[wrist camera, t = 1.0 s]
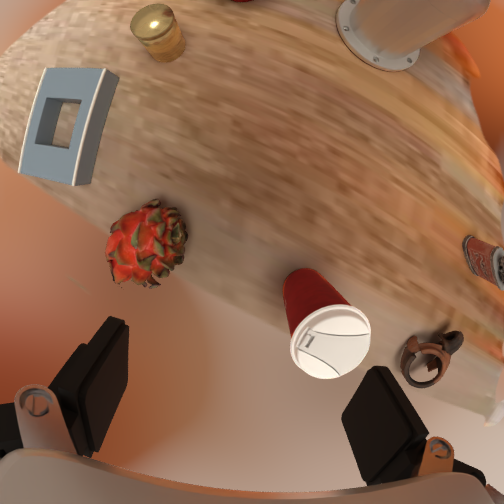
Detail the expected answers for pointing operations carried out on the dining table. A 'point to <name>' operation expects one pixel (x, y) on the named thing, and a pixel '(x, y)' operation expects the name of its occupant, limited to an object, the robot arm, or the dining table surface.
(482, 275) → the lighter
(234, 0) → the plastic cup
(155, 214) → the dragon fruit
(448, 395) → the dining table surface
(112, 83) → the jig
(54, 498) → the robot arm
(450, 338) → the pottery mug
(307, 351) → the paper cup
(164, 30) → the brass flanged cylinder
